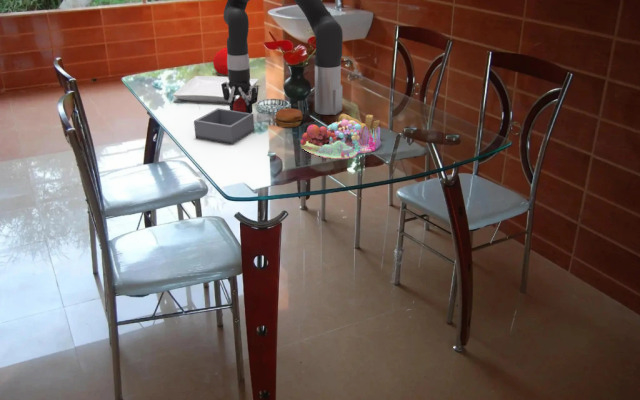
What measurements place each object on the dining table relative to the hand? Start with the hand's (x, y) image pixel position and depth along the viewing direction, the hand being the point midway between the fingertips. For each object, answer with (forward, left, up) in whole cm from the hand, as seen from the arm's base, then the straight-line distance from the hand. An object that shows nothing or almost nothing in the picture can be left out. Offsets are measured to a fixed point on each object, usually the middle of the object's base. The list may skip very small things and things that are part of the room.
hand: (241, 113), depth 228 cm
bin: (-4, +17, -2) cm, 18 cm away
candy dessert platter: (-43, +9, -2) cm, 44 cm away
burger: (-18, -2, -2) cm, 18 cm away
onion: (0, 0, -2) cm, 2 cm away
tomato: (+34, -47, -2) cm, 58 cm away
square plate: (+23, -20, -2) cm, 31 cm away
